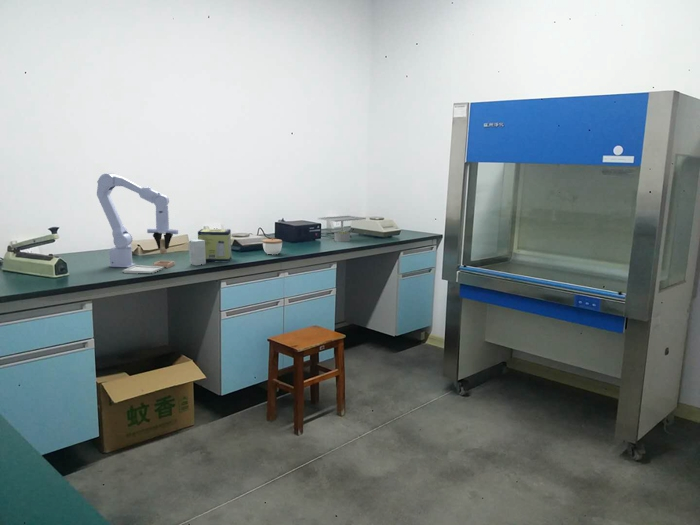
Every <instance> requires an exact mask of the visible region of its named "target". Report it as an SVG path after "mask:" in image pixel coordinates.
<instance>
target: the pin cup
mask: <svg viewBox="0 0 700 525" xmlns="http://www.w3.org/2000/svg"><path fill="white" fill-rule="evenodd" d="M175 263H176V262H175V261H174V260H158V261H155V262H154V263H153V264H152V266H162V267H166V269H169V268H171V267H173V266H175Z"/></svg>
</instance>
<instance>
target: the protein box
mask: <svg viewBox="0 0 700 525" xmlns="http://www.w3.org/2000/svg"><path fill="white" fill-rule="evenodd" d="M231 234H232V232H231V229H230V228H227V229H226V228H225V229H224V228H223V229H222V228H220V229H218V228H217V229H214V228H213V229H212V228H210V229H209V228H200V230H198V231H197V240H205V255H206V263H210V261H211V263H216V262H215V261H229V260H230V261H231V259H232V240H231V239H232V236H231ZM230 261H229V262H230Z"/></svg>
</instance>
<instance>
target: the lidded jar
mask: <svg viewBox="0 0 700 525" xmlns="http://www.w3.org/2000/svg"><path fill="white" fill-rule="evenodd" d="M282 247H283V240H282V239H279V238H274V237H273V236H272V237H271V238H267V239H266V238H265V239H262V248H263V250H264V252H265V253H266V254H267V255H268V254H272V255H271V256H274V255H273V254H277V255H278V254H279V253H280V252H281V251H282Z"/></svg>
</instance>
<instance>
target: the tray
mask: <svg viewBox="0 0 700 525" xmlns="http://www.w3.org/2000/svg"><path fill="white" fill-rule="evenodd" d="M162 269H163V270H164V267H162V266H153V265H141V264H139V265H138V264H136V265H133V266H131V267H126V268H125V269H122V270H121V271H122V273H123V272H124V273H123V274H138V273H154V272H156V273H158V272H160V271H159V270H161V271H163V270H162ZM157 271H158V272H157ZM154 274H155V273H154Z"/></svg>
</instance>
